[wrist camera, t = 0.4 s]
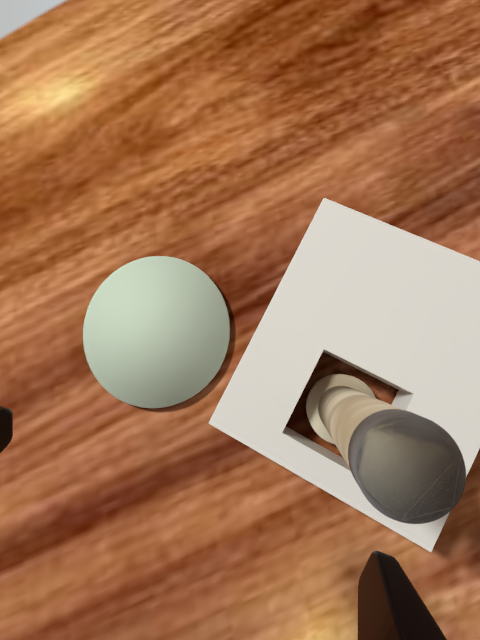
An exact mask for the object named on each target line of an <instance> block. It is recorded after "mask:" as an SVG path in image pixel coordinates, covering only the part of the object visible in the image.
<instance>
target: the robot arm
mask: <svg viewBox="0 0 480 640" xmlns="http://www.w3.org/2000/svg"><path fill="white" fill-rule="evenodd" d="M12 436H13V414H12V411H11V410H10V409H8V408H5V407H3V406H0V453H1V452H2V451H3V450H4V449H5V448H6V447H7V446H8V444H9V443H10V441H11V439H12ZM358 640H447V639H446V638H445V636H444V634H443V633H442V631H441V630H440V628H439V626H438V625H437V623H436V622H435V620H434V618H433V617H432V615H431V614H430V612H429V610H428V609H427V607H426V606H425V604H424V603H423V601H422V599H421V598H420V596H419V595H418V593H417V591H416V590H415V588H414V587H413V585H412V583H411V582H410V580H409V579H408V577H407V576H406V574H405V572H404V571H403V569H402V568H401V566H400V564H399V563H398V561H397V560H396V559H395V558H394V557H392V556H390V555H387V554H384V553H382V552H379V551H374V552H372V554H371V555H370V557H369V559H368V561H367V564H366V566H365V568H364V570H363V572H362V574H361V576H360V579H359V585H358Z"/></svg>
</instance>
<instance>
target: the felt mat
mask: <svg viewBox="0 0 480 640" xmlns="http://www.w3.org/2000/svg"><path fill="white" fill-rule="evenodd" d="M229 340H230V319H229V314H228V309H227V306H226V303H225V300H224V298H223V296H222V294H221V292H220V291H219V289H218V288H217V286H216V285H215V284H214V282H213V281H212V280H211V279H210V278H209V277H208V276H207V275H206V274H205V273H204V272H202V271H201V270H200V269H199V268H197V267H195V266H194V265H192V264H190V263H188V262H186V261H184V260H180V259H177V258H173V257H167V256H153V257H145V258H141V259H138V260H135V261H132V262H130V263H128V264H126V265H124V266H122V267H120V268H119V269H118V270H116V271H115V272H113V273H112V274H111V275H110V276H109V277H108V278H107V279H106V280H105V281H104V282H103V283H102V284H101V286H100V287H99V288H98V290H97V291H96V293H95V294H94V296H93V298H92V300H91V302H90V304H89V307H88V310H87V312H86V316H85V321H84V328H83V343H84V351H85V354H86V358H87V361H88V364H89V366H90V369H91V370H92V372H93V374H94V376H95V377H96V379H97V380H98V381H99V383H100V384H101V385H102V386H103V387H104V388H105V389H106V390H107V391H108V392H109V393H110V394H112V395H113V396H114V397H116V398H118V399H119V400H121V401H123V402H125V403H128V404H130V405H133V406H138V407H142V408H163V407H168V406H172V405H175V404H178V403H181V402H183V401H185V400H187V399H189V398H191V397H193V396H194V395H196V394H197V393H199V392H200V391H201V390H202V389H204V388H205V387H206V386H207V385H208V384H209V383H210V381H211V380H212V379H213V378H214V377H215V375H216V374H217V372H218V371H219V369H220V367H221V365H222V363H223V361H224V359H225V356H226V353H227V350H228V345H229Z"/></svg>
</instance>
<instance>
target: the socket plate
mask: <svg viewBox="0 0 480 640" xmlns="http://www.w3.org/2000/svg"><path fill="white" fill-rule="evenodd" d="M322 352H324V353H326V354H328V355H330V356H332V357H334V358H336V359H338V360H340V361H342V362H344V363H346V364H348V365H350V366H352V367H354V368H356V369H358V370H360V371H362V372H364V373H366V374H368V375H370V376H372V377H374V378H376V379H378V380H380V381H382V382H384V383H386V384H388V385H390V386H392V387H394V388H396V389H398V392H397V394H396V396H395V398H394V400H393V402H392V406H395V407H397V408H399V409H401V410H406V411H409V412H412V413H415V414H417V415H419V416H422V417H424V418H426V419H429V420H431V421H433V422H435V423H436V424H438V425H439V426H441V427H442V428H443V429H445V430H446V431H447V432H448V433H449V434H450V435H451V437H452V438H453V439H454V440H455V442H456V444H457V445H458V447H459V449H460V451H461V453H462V456H463V459H464V463H465V468H466V477H467V475H468V472H469V470H470V468H471V466H472V464H473V462H474V460H475V457H476V455H477V453H478V451H479V449H480V261H477V260H475V259H473V258H470V257H468V256H465V255H463V254H460V253H458V252H455V251H453V250H451V249H448V248H446V247H443V246H441V245H438V244H436V243H433V242H431V241H428V240H426V239H424V238H421V237H419V236H416V235H414V234H411V233H409V232H406V231H404V230H402V229H399V228H397V227H394V226H392V225H389V224H387V223H384V222H382V221H380V220H377V219H375V218H372V217H370V216H367V215H365V214H362V213H360V212H357V211H355V210H353V209H350V208H348V207H345V206H343V205H340V204H338V203H335V202H333V201H331V200H328V199H326V198H323V200H322V202H321V204H320V206H319V208H318V210H317V212H316V214H315V216H314V218H313V220H312V222H311V224H310V226H309V228H308V230H307V232H306V234H305V236H304V238H303V239H302V241H301V243H300V245H299V247H298V249H297V251H296V253H295V255H294V257H293V259H292V261H291V263H290V265H289V267H288V269H287V271H286V273H285V275H284V277H283V279H282V281H281V282H280V284H279V286H278V288H277V290H276V292H275V294H274V296H273V298H272V300H271V302H270V304H269V306H268V308H267V310H266V312H265V314H264V316H263V318H262V320H261V322H260V324H259V326H258V327H257V329H256V331H255V333H254V335H253V337H252V339H251V341H250V343H249V345H248V347H247V349H246V351H245V353H244V355H243V357H242V359H241V361H240V363H239V365H238V367H237V369H236V370H235V372H234V374H233V376H232V378H231V380H230V382H229V384H228V386H227V388H226V390H225V392H224V394H223V396H222V398H221V400H220V402H219V404H218V406H217V408H216V410H215V412H214V414H213V415H212V417H211V419H210V421H209V424H210V425H212V426H214V427H216V428H217V429H219V430H221V431H223V432H224V433H226V434H228V435H229V436H231V437H233V438H235V439H236V440H238V441H240V442H242V443H243V444H245V445H247V446H248V447H250V448H252V449H254V450H255V451H257V452H259V453H260V454H262V455H264V456H266V457H267V458H269V459H271V460H273V461H274V462H276V463H278V464H279V465H281V466H283V467H285V468H286V469H288V470H290V471H292V472H293V473H295V474H297V475H298V476H300V477H302V478H304V479H305V480H307V481H309V482H311V483H312V484H314V485H316V486H317V487H319V488H321V489H323V490H324V491H326V492H328V493H330V494H331V495H333V496H335V497H336V498H338V499H340V500H342V501H343V502H345V503H347V504H348V505H350V506H352V507H354V508H355V509H357V510H359V511H361V512H362V513H364V514H366V515H367V516H369V517H371V518H373V519H374V520H376V521H378V522H380V523H381V524H383V525H385V526H386V527H388V528H390V529H392V530H393V531H395V532H397V533H399V534H400V535H402V536H404V537H405V538H407V539H409V540H411V541H412V542H414V543H416V544H417V545H419V546H421V547H423V548H424V549H426V550H428V551H430V552H432V549H433V547H434V545H435V543H436V541H437V539H438V537H439V534H440V532H441V530H442V528H443V526H444V524H445V522H446V519H447V517H448V515H449V513H450V512H449V513H448V514H446V515H445V516H443V517H442V518H440V519H438V520H435V521H432V522H429V523H424V524H407V523H402V522H399V521H396V520H393V519H391V518H389V517H387V516H385V515H384V514H382V513H381V512H379V511H378V510H377V509H376V508H374V507H373V506H372V505H371V503H370V502H369V501H368V500H367V499H366V497H365V496H364V494H363V493H362V491H361V489H360V488H359V486H358V484H357V482H356V481H355V479H354V477H353V475H352V473H351V470H350V468H349V466H348V465H347V463H346V461H345V460H344V458H342V457H340V456H339V455H337V454H335V453H333V452H331V451H330V450H328V449H326V448H324V447H322V446H321V445H319V444H317V443H315V442H313V441H311V440H310V439H308V438H306V437H304V436H302V435H301V434H299V433H297V432H295V431H293V430H292V429H290V428H288V427H286V424H287V422H288V420H289V418H290V416H291V414H292V412H293V410H294V408H295V406H296V404H297V402H298V400H299V398H300V396H301V394H302V392H303V390H304V388H305V386H306V384H307V382H308V380H309V378H310V376H311V374H312V372H313V370H314V368H315V366H316V364H317V362H318V360H319V358H320V356H321V354H322Z"/></svg>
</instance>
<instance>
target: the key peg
mask: <svg viewBox="0 0 480 640" xmlns="http://www.w3.org/2000/svg"><path fill="white" fill-rule="evenodd" d="M306 413H307V417H308V419H309V422H310V424H311V426H312V428H313V429H314V430H315V432H316V433H317V434H318V435H319V436H320V437H321V438H323V439H324V440H326V441H327V442H330V443H332V444H335V445H336V446H337V448H338V450H339V451H340V453H341V455H342V456H343V458H344V460H345V461H346V463H347V465H348V466H349V468H350V470H351V473H352V475H353V477H354V479H355V481H356V482H357V484H358V486H359V488H360V489H361V491H362V493H363V494H364V496H365V497H366V499H367V500H368V501H369V502H370V503H371V505H372V506H373V507H374V508H376V509H377V510H378V511H379V512H381V513H382V514H384V515H385V516H387V517H389V518H391V519H393V520H396V521H399V522H402V523H407V524H424V523H429V522H432V521H435V520H438V519H440V518H442V517H443V516H445V515H446V514H448V513H449V512H450V511H451V510H452V509H453V508H454V507H455V505H456V504H457V503H458V501H459V500H460V498H461V496H462V493H463V491H464V487H465V481H466V468H465V463H464V459H463V456H462V453H461V451H460V449H459V447H458V445H457V444H456V442H455V440H454V439H453V438H452V437H451V435H450V434H449V433H448V432H447V431H446V430H445V429H443V428H442V427H441V426H439V425H438V424H436V423H435V422H433V421H431V420H429V419H426V418H424V417H422V416H419V415H417V414H415V413H412V412H409V411H406V410H401V409H399V408H397V407H395V406H392V405H390V404H388V403H385V402H383V401H381V400H378V399H376V398H375V395H374V394H373V392H372V390H371V389H370V388H369V387H368V386H367V385H366V384H365V383H364V382H362V381H361V380H359V379H357V378H355V377H353V376H349V375H345V374H331V375H327V376H325V377H323V378H321V379H319V380H318V381H317V382H316V383H315V384H314V385H313V386H312V387H311V389H310V391H309V393H308V395H307V399H306Z"/></svg>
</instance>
